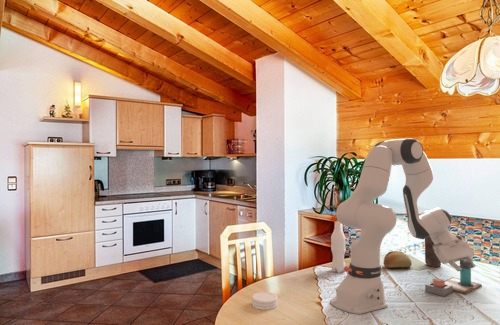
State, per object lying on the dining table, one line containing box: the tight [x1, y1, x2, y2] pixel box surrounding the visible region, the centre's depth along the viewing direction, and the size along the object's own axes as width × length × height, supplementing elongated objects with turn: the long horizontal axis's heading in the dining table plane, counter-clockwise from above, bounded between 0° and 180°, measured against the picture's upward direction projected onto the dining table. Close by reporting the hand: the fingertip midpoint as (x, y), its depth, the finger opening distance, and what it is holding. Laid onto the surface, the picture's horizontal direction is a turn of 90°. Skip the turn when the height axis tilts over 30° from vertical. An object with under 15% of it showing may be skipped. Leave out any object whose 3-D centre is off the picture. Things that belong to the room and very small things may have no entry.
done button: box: [432, 278, 445, 288], centre depth 146 cm, size 4×4×3 cm
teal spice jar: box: [459, 260, 472, 286], centre depth 152 cm, size 4×4×10 cm
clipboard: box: [444, 276, 483, 295], centre depth 153 cm, size 16×12×1 cm
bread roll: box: [383, 250, 413, 269], centre depth 181 cm, size 10×15×8 cm, turn 100°
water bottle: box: [330, 220, 347, 274], centre depth 175 cm, size 7×7×25 cm
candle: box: [424, 236, 442, 268], centre depth 183 cm, size 8×7×20 cm
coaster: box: [251, 291, 278, 311], centre depth 135 cm, size 10×10×4 cm
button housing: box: [424, 280, 454, 298], centre depth 146 cm, size 8×8×3 cm
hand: (467, 269), depth 152 cm, fingers open, 8 cm apart
